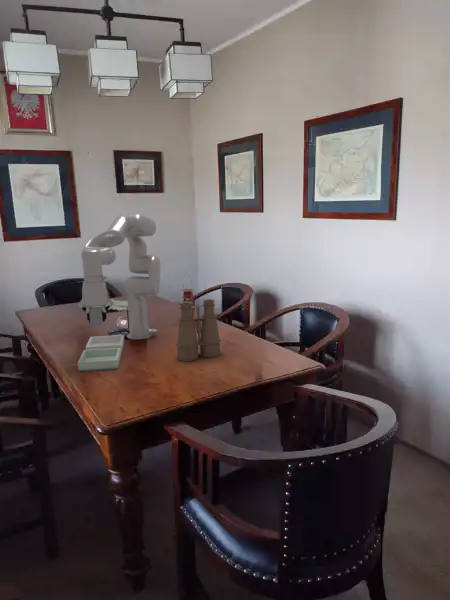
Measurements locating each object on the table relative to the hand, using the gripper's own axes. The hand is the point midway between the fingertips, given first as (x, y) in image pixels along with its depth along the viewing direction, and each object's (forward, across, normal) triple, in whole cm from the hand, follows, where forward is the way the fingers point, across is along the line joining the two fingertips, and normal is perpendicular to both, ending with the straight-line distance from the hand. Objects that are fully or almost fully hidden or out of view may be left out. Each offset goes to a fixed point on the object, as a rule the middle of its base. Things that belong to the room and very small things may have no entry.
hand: (97, 320), depth 187 cm
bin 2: (+19, 0, 0) cm, 19 cm away
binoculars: (+19, -43, -2) cm, 47 cm away
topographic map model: (+20, +2, -109) cm, 111 cm away
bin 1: (+19, 0, -20) cm, 28 cm away
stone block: (+1, 0, 0) cm, 1 cm away
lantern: (+19, -42, -52) cm, 70 cm away
